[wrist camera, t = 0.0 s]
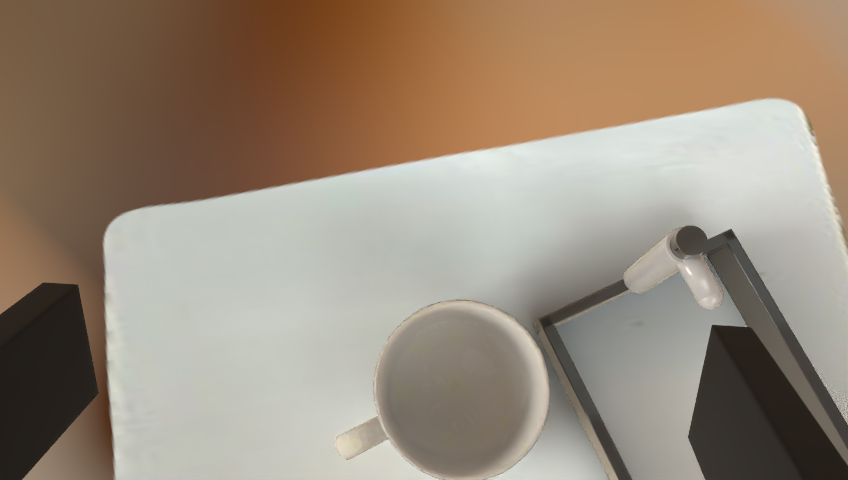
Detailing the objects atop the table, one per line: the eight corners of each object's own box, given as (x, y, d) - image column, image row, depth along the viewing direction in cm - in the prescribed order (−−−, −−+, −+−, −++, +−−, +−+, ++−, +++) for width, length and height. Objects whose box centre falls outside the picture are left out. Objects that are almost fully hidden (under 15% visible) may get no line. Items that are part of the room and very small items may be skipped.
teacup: (511, 298, 51) (520, 278, 43) (557, 446, 48) (575, 455, 40) (328, 349, 50) (303, 339, 43) (364, 501, 48) (345, 520, 40)
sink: (854, 488, 46) (1036, 527, 32) (660, 583, 46) (754, 669, 31) (707, 234, 51) (806, 165, 36) (528, 318, 50) (555, 282, 35)
